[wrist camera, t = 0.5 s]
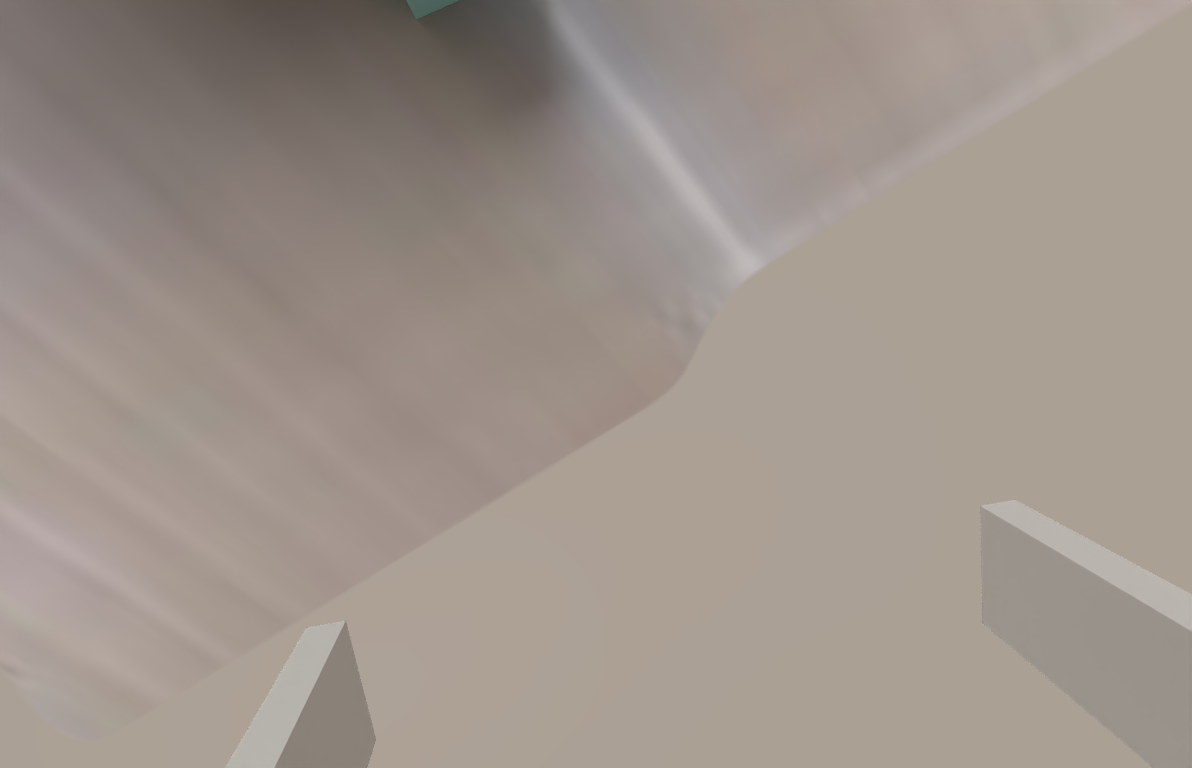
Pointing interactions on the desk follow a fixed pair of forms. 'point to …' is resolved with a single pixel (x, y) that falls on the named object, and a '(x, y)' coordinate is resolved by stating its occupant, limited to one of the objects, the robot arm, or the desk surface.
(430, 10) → the cube
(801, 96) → the desk surface
